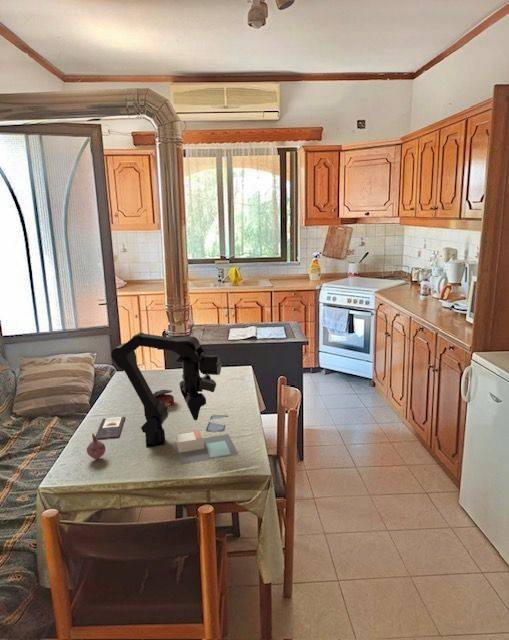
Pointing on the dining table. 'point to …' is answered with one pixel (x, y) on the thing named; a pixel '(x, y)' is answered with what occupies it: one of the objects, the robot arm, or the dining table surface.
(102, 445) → the vegetable
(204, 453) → the mat
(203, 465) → the dining table surface
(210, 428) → the smartphone
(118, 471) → the dining table surface
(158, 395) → the canned food
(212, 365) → the robot arm
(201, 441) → the card box
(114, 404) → the dining table surface
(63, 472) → the dining table surface
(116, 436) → the chocolate bar
